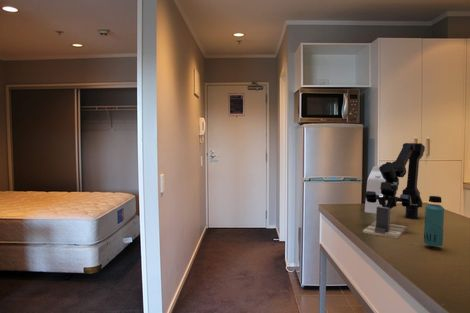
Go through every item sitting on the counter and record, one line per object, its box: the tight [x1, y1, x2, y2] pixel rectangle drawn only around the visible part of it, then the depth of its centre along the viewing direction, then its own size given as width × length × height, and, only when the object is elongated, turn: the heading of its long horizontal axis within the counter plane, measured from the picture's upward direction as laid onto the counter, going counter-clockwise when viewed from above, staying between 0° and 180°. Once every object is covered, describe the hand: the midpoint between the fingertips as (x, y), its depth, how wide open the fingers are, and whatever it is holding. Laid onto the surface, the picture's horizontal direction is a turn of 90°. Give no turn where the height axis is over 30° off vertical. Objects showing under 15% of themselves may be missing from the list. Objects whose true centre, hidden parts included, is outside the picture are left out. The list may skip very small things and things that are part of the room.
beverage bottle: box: [423, 195, 445, 248], centre depth 123 cm, size 6×7×20 cm
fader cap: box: [375, 206, 391, 232], centre depth 143 cm, size 4×5×10 cm
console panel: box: [362, 221, 407, 240], centre depth 147 cm, size 20×14×3 cm
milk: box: [364, 165, 388, 214], centre depth 185 cm, size 12×12×26 cm
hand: (384, 213), depth 144 cm, fingers closed
